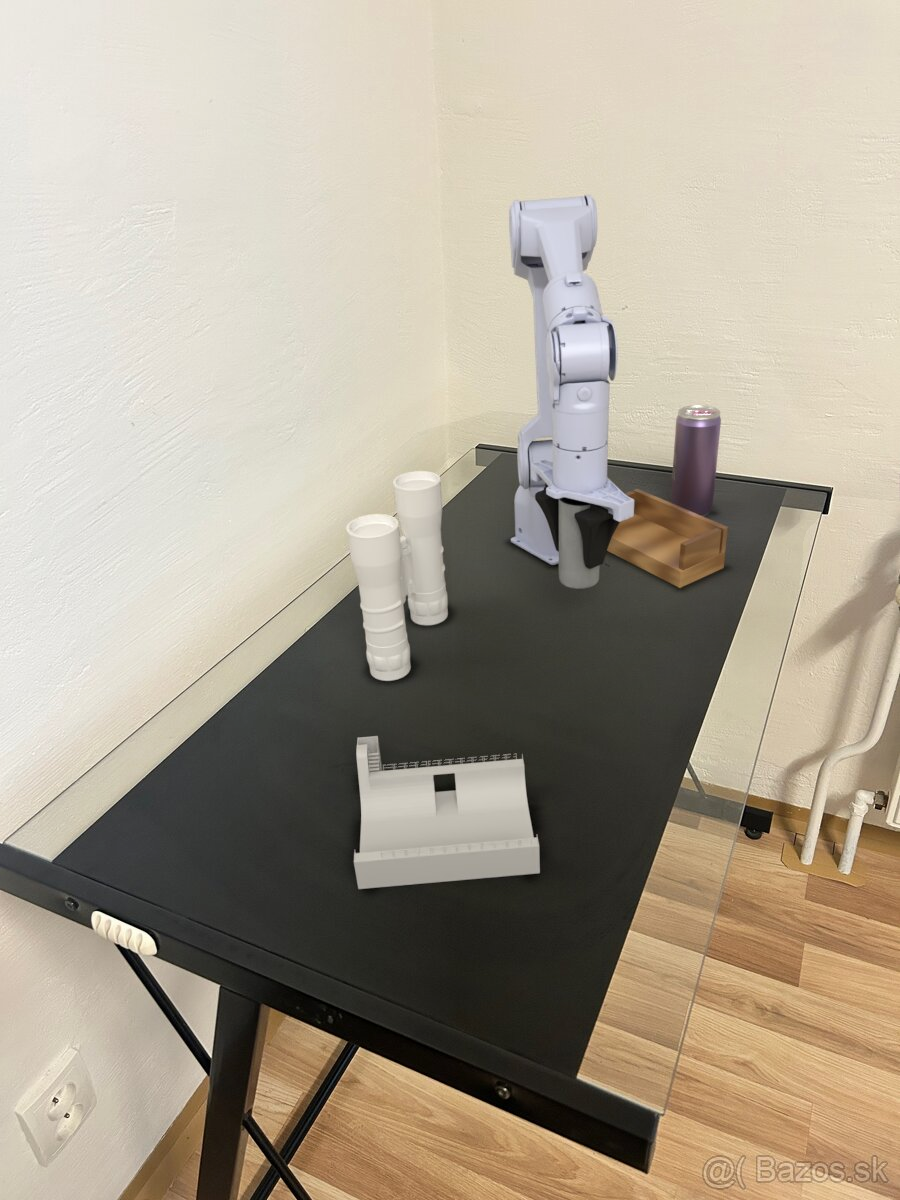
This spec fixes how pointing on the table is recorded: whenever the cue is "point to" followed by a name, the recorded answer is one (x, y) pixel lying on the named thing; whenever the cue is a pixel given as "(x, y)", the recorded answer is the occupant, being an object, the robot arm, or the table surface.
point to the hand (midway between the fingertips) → (579, 556)
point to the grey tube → (573, 547)
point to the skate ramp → (442, 822)
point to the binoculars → (400, 571)
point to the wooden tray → (669, 540)
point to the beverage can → (695, 458)
